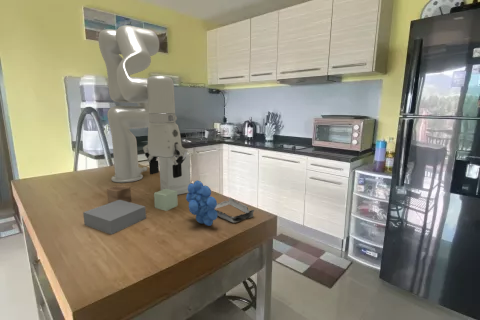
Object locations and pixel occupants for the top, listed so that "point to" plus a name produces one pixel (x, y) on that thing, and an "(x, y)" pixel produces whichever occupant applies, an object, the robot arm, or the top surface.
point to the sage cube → (165, 199)
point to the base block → (114, 216)
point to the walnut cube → (119, 194)
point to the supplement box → (167, 178)
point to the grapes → (201, 203)
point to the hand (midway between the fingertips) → (165, 175)
